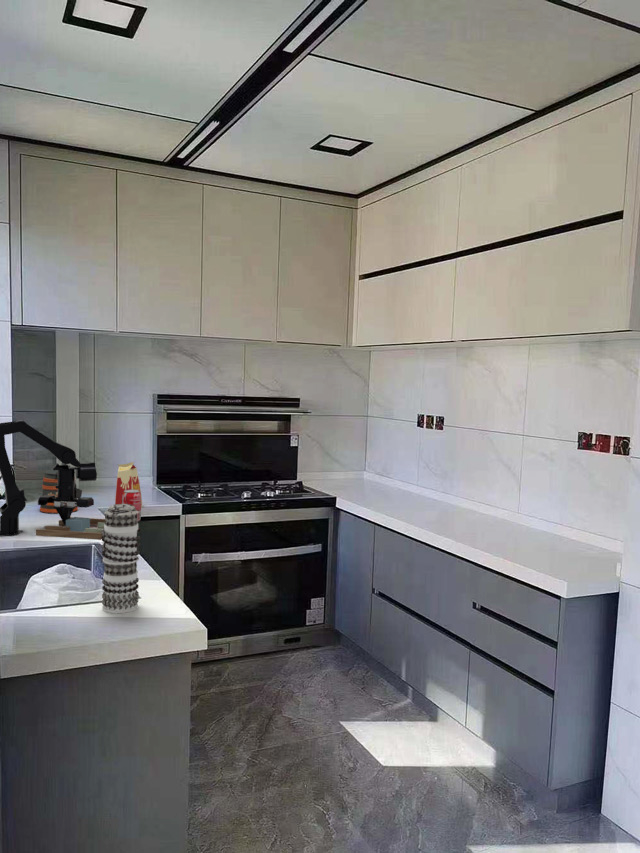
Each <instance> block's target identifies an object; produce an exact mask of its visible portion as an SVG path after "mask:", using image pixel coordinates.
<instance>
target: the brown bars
mask: <svg viewBox="0 0 640 853" xmlns="http://www.w3.org/2000/svg"><path fill="white" fill-rule="evenodd" d="M70 518H73V516H70ZM89 518H90V517H89ZM104 524H105V518H92V517H91V518H90V528H85V531H83V532H76V531H70V527H66V525H64V523H63V521H62V519H59V520H58V525H57V526H56V525H44V529H43V528H42V529H41V528H40V529H39V528H37V529H35V536H37V537H55V538H57V537H58V538H72V539H74V538H75V539H88V540H101V539H102V538H101V537H102V536H103V535H102V533H101V531H102V530H103V528H104ZM105 533H106V532H105Z"/></svg>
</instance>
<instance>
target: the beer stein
mask: <svg viewBox="0 0 640 853" xmlns="http://www.w3.org/2000/svg"><path fill="white" fill-rule="evenodd" d="M61 465H68V464H64V463H62V462H61ZM68 467H71V465H68ZM74 484H76V485H77V483H76V479H75V480H74ZM56 485H58V470H53V469H52V468H51V469H48V470H46V471H45V472H44V476H43V479H42V486H41V487H42V488H41V489H42V494H41V496H45V495H55V497H57V496H58V489H57V488H56ZM74 499H78V498H74ZM39 506H40V507H39V511H40V512H41V513H44V514H56V515H57V514H58V512H57V510H56V509H55V508H53V506H54V503H48V504H47V505H39ZM78 510H79V507H76V508H75V509H74V510H73V512H72V513H74V512H77V511H78ZM58 515H59V514H58Z"/></svg>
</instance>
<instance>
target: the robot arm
mask: <svg viewBox="0 0 640 853" xmlns="http://www.w3.org/2000/svg"><path fill="white" fill-rule="evenodd" d="M15 433H21V434H22V435H24V436H26V437H27V438H29V440H32V441H34V442H35V443H36V444H38V445H40V446H42V448H45V449H46V450H47V451H48V452H49V453H50V454H52V455H53V456H54V457H55V458H56V459H57V460H58V461H59V462H61V464H59V463H58V462H56V463H55V464H54V465H53V466H52V467H51V469H53V470H58V485H56V488H57V489H58V496H57V497H55V495H45V496H42V495H41V496H39V497H38V499H37V505H38V506H40V505H47V504H48V503H54V506H53V508H55V509H56V510H57V512H58V516H59V517H60V520H62V521H63V523H64V525H66V520H67V519H70V517H72V514H73V513H74V512H73V510H74V509H75V508H76V507H78V508H89V507H93V506H94V505H95V502H94V498H93V497H88V496H82V494H83V490H82V489H80V488H78V487H77V483H76V484H74V480H75V481H76V479H77V480H78V481H79V482H95V481H97V477H98V472H97V468H96V462H94V461H90V462H80V461H79V460H78V458H76V457H77V455H76V451H74V449H73V448H71V447H69V446H66V445H64V444H62V443H59V442H56V441H54V440H53V439H51V438H49V437H48V436H46V435H45V434H43V433H41V432H40V431H39V430H37V429H35V428H34V427H32V426H31V425H29V423H27V422H25V421H24V420H21V419H18V420H15V421H5V422H0V476H1V479H2V482H3V486H4V496H5V497H4V498H5V503H4V504H2V505H1V506H0V514H1V515H0V535H1V536H15V535H19V534H20V533H23V530H22V529H21V530H20V528H19V527H20V525H19V524H20V517H19V516H20V513H21V512H22V511H23V510H24V509H25V508H26V502H27V501H28V500H27V498H26V497H25V490H24V488H23V487H22V486H21V487H18V485H17V482H16V479H15V476H14V472H13V469H12V466H11V463H10V459H9V456H8V453H7V449H6V448H7V447H6V440H5V439H6V435H12V434H15ZM62 463H64V464H67V465H62ZM69 464H70V467H68V466H69ZM71 465H72V467H71ZM74 498H77V499H74Z"/></svg>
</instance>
